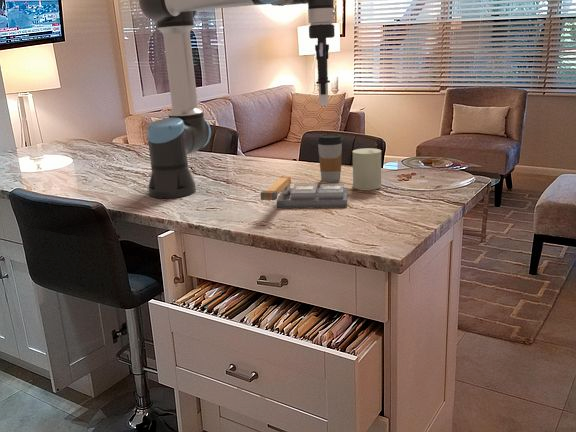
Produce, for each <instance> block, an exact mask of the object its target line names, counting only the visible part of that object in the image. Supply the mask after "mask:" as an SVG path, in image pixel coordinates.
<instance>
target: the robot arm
mask: <svg viewBox="0 0 576 432" xmlns="http://www.w3.org/2000/svg"><path fill="white" fill-rule="evenodd" d="M301 4H304V5H306V4H307V6H308V7H307V15H308V16H307V18H308V19H307V21H308V24H310V25H309V26H308V36H309V39H317V44H315V46H314V49H315V59H316V61H317V81H316V82H315V84H316V85H317V84H318V105H319V107H321V106H329V84H330V83H331V80H329V75H328V74H329V73H328V60H329V50H330V44H329V43H328V44H327V38H328V39H331V38H334V37H335V25H334V24H333V23H334V22H335V16H336V15H337V12H336V10H335V8H334V5H335V3H334V0H138V6H139V8H140V10H141V12H142V14H144V16H145V17H147V18H148V19H150V20H151V21H154V22H156V25H157V30H158V31H159V32H160V33H162V35H163V36H162V37H163V43H164V44H163V46H164V51H165V60H166V61H165V62H166V68H167V75H168V76H167V77H168V86H169V94H170V101H171V110H170V112H169V113H168V117H166V118H165V117H164V118H161V119H157V120H156V119H155V120H153V121H152V122H150V123H149V124H148V125H147V130H146V133H147V135H146V137H147V142H148V143H147V144H148V151H149V158H150V168H151V174H150V177H149V178H150V179H149V183H148V196H150V197H151V196H152V198H155V197H157V198H156V199H174V198H180V197H186V196H189V195H192V194H194V193H195V192H196V191H197V187H196V183H195V181H194V180H195V179H194V178H193V175H192V173H191V171H190V169H189V168H190V167H189V163H188V155H189V154H191V153H196V152H199V151H200V150H202V149H203V148H205V147H206V146H207V145H208V144H209V142H210V140H211V136H212V129H211V126H210V124H209V122H208V121H207V120H206V118H205V115H204V111H203V110H202V109H201V108H200V107H199V102H198V94H197V86H196V76H195V68H194V59H193V49H192V42H191V41H192V40H191V31H192V30H193V29H194V27H195V23H194V18H195V16H196V15H197V13H198V11H206V10H216V9H226V8H227V9H228V8H237V7H238V8H239V7H248V6H260V5H271V6H278V7H279V6H280V7H284V6H290V5H291V6H292V5H301ZM328 83H329V84H328Z"/></svg>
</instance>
